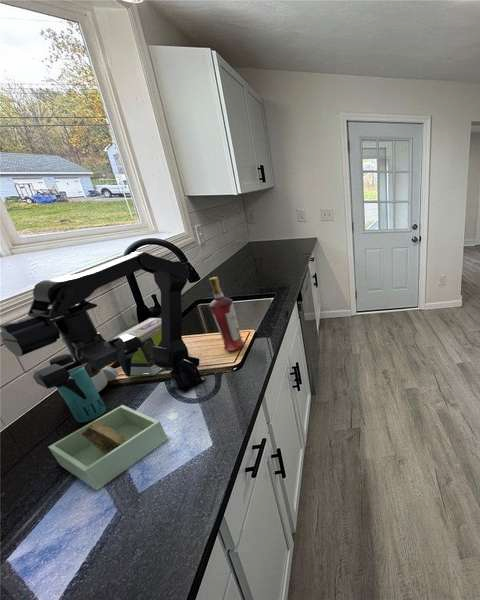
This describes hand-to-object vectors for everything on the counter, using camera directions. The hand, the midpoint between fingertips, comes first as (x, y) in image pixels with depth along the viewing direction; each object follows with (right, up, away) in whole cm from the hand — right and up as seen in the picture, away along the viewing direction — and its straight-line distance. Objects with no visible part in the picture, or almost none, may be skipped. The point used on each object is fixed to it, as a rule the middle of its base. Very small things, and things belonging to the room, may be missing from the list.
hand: (107, 387), depth 78 cm
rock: (+5, -14, -2) cm, 15 cm away
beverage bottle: (-12, -11, +9) cm, 19 cm away
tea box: (-13, -1, +34) cm, 36 cm away
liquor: (+10, +3, +40) cm, 42 cm away
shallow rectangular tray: (+4, -15, -3) cm, 16 cm away
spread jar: (-24, -7, +21) cm, 32 cm away
